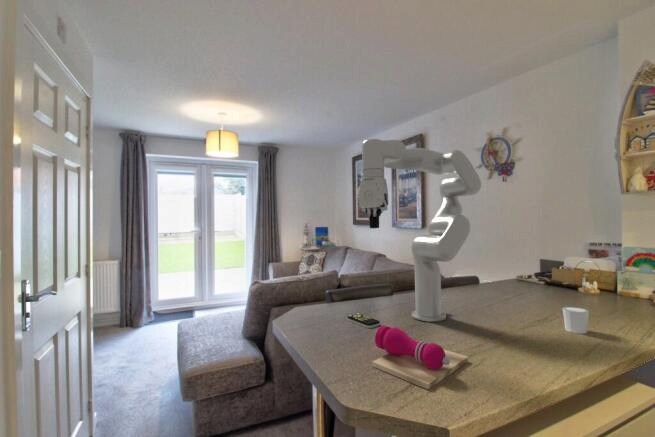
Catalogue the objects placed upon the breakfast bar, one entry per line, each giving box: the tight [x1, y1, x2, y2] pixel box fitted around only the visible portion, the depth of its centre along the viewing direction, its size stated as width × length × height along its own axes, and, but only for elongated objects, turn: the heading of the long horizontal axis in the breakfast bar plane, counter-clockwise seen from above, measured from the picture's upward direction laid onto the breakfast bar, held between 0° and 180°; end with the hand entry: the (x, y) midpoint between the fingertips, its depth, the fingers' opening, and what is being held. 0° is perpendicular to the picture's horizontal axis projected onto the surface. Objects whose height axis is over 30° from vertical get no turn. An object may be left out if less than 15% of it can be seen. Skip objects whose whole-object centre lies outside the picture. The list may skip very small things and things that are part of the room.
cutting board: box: [371, 348, 469, 390], centre depth 83 cm, size 20×16×1 cm
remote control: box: [347, 312, 380, 329], centre depth 117 cm, size 6×13×2 cm, turn 35°
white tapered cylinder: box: [562, 306, 590, 335], centre depth 104 cm, size 7×7×7 cm
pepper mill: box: [374, 325, 450, 370], centre depth 82 cm, size 7×7×20 cm
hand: (374, 227), depth 110 cm, fingers closed
